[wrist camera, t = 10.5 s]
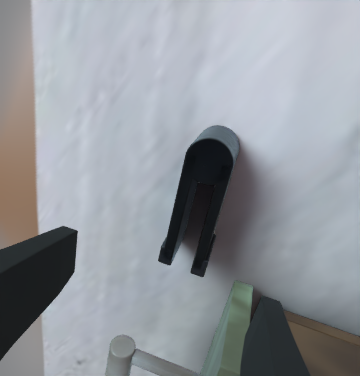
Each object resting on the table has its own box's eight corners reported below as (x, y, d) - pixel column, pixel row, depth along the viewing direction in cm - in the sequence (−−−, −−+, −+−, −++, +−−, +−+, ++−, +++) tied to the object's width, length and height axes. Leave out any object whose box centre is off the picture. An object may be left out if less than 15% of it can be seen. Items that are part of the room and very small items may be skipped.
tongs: (199, 119, 18) (186, 130, 15) (248, 132, 17) (244, 147, 15) (172, 235, 21) (157, 261, 19) (212, 249, 21) (203, 278, 18)
